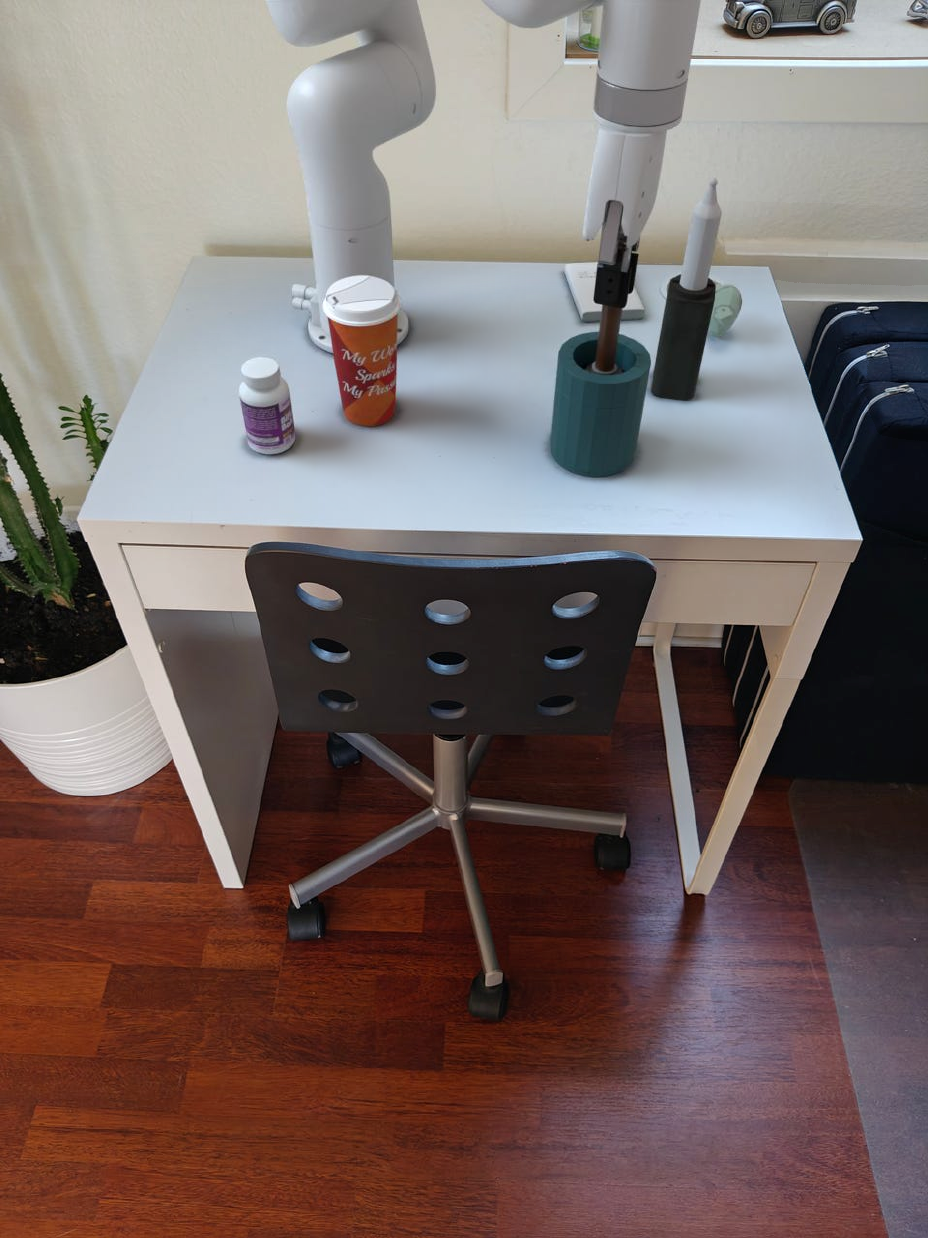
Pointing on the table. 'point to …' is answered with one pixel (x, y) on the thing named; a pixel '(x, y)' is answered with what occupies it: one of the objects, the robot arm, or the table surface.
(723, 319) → the green toy fish
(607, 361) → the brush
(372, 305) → the coffee cup
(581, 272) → the hard drive
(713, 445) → the table surface
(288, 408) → the pill bottle
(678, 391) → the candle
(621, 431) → the teal hollow cylinder
